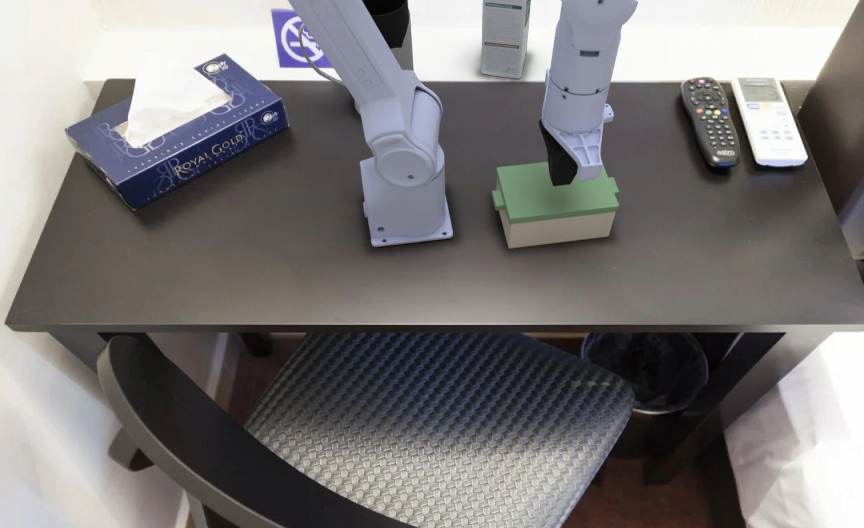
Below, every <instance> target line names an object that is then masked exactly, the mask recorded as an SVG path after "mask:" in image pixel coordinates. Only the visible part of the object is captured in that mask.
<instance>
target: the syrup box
mask: <svg viewBox="0 0 864 528" xmlns="http://www.w3.org/2000/svg"><path fill="white" fill-rule="evenodd" d="M531 4H532V0H482V14H481V15H482V16H481V17H482V18H481V65H480V66H481V67H480V68H481V74H483V75H489V76H494V77H501V78H509V79H518V80H520V78H521V76H522V73H523V69H524V66H525V63H526V58H527V56H528V55H527V53H528V40H529V29H530V15H531Z"/></svg>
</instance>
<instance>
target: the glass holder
mask: <svg viewBox="0 0 864 528" xmlns="http://www.w3.org/2000/svg"><path fill="white" fill-rule="evenodd" d="M362 2H363V3H364V5H365V7H366V9H367V10H368V12H369V14H370V15H371V17H372V19H373V21H374V22H375V24H376V26H377V28H378V29H379V31H380V33H381V34H382V36H383V38H384V40H385V41H386V43H387V45H388V47H389V48H390V50H391V52H392V53H393V55H394V57H395V59H396V60H397V62H398V64H399V65H400V67H401V69H402V70H411V71H414V72H415V70H414V69H415V68H414V53H413V38H412V37H413V36H412V21H411V19H412V18H411V11H410V9H409V0H362ZM304 29H306V27H305V25H304V24H303V22H302V23H300V26H299V28H298V31H297V33H298V35H297V36H298V42H299V46H300V50H301V52H302V55H303V57H304V58H305V60H306V61H307V64H309V66H310V67H311V68H312V69H313V70H314V71H315V72H316V73H317V74H318V75H319V76H322V78H324V79H326V80H328V81H330V82H332V83H334V84H335V85H338V86H341V87H343V88H345V89H347V87H346V86H345V84H344V83H343V81H342V80H341V79H338V78H335V77H333V76H332V75H330V74H328V73H326V72H324V71H323V70H321V69H320V68H319V67H318V66H317V65H316V64H315V63H314V62H313V60H311V58H310V57H309V55H308V53H307V51H306V49H305V46H304V43H303V35H302V34H303V31H304ZM354 107H355V111H356V112H357V113H358V115H359V116H361V112H360V108H359V105H358V104H357V102H356V101H355V100H354Z"/></svg>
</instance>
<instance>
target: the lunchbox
mask: <svg viewBox="0 0 864 528" xmlns="http://www.w3.org/2000/svg"><path fill="white" fill-rule="evenodd" d="M495 170H496V171H495V175H496V190H492V191H491V198H492V202H493V205H494V206H493V207H494V210H495V211H498V213H499V217H500V220H501V224H502V227H503V232H504V236H505V241H506V244H507V247H508V249H515V248H525V247H533V246H541V245H549V244H550V245H551V244H557V243H566V242H574V241H581V240H582V241H583V240H590V239H598V238H599V239H600V238H607V237H609V236H610V233H611V229H612V226H613V223H614V220H615V216H616V213H618V212H619V208H620V204H619V201H618V199H617V198H618V197H619V195H620V190H619V188H618V186H617V183H616V179H615V178H614V176H613V177H612V176H611V177H609V176H608V174H607V171H606V168H605V166H604V164H603V165H602V169H601V173H600V177H599V179H593V180H584V181H579V180H578V177H577V174H576V176H575V178H574V179H573V181H572V183H571V184H570V185H562V186H553V184H552V181H551V178H550V175H549V167H548V161H543V162H542V161H541V162H534V163H525V164H516V165H515V164H513V165H506V166H497V167H496V168H495Z"/></svg>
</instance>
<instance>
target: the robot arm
mask: <svg viewBox="0 0 864 528" xmlns="http://www.w3.org/2000/svg"><path fill="white" fill-rule="evenodd" d="M560 1H561V6H560V14H559V19H558V21H557V24H556V27H555V31H554V37H553V38H554V39H553V47H552V52H551V60H550V67H549V68H546V71H545V78H544V87H545V94H544V98H543V103H542V109H541V117H540V119H539V121H538V127H539V130H540V133H541V135H542V140H543V142H544V145H545V148H546V154H547V162H548V167H549V175H550V178H551V181H552V184H553V186H562V185H570V184H571V183H572V181H573V179H574V178H575V176H576V174H577V177H578V180H579V181H584V180H593V179H599V177H600V173H601V169H602V165H603V166H604V162H603V160H602V157H601V156H602V155H601V149H602V142H603V141H602V140H603V132H604V124H607V123H611V122H612V121H613V120H614V116H615V113H614V110H613V109H612V106H611V105H610V104H608V103H607V99H608V95H609V91H610V86H611V81H612V78H613V73H614V71H615V70H614V69H615V66H616V65H615V64H616V60H617V57H618V52H619V48H620V44H621V39H622V28H623V26H624V25H625V24H627V22H628V21H629V20H630V19H631V18H632V16H633V15H634V13H635V12H636V10H637V7H638V4H639V1H638V0H560ZM287 2H288V3H289V4H290V6H291V8H292V9H293V11H294V12H295V13H296V15H297V17H298V18H299V20H300V21H301V22H302V23H303V24H304V25H305V29H307V31H308V32H309V34H310V35H311V37H312V39H313V40H314V42H315V43H316V44H317V46H318V47H319V49H320V50H321V52H322V53H323V55H324V56H325V58H326V59H327V61H328V62H329V64H330V65H331V66H332V68H333V70H334V71H335V72H336V74H337V76H338V77H339V78H340V81H342V82H343V83H344V84H345V86H346V87H347V88H346V89H347V90H348V92H349V93H350V95H351V96H352V98H353V100H354V102H355V101H356V102H357V104H358V105H359V108H360V112H361V115H360V118H361V124H362V129H363V135H364V140H365V143H366V145H367V146H368V147H369V149H370V150H371V153H372V155H373V156H372V157H369V158H366V159H363V160H360V161H359V168H360V175H361V184H362V190H363V191H362V192H363V197H364V199H363V200H364V201H363V202H362V205H363V214H364V218H367V223H368V229H369V235H370V242H371V246H372V247H374V248H379V247H388V246H394V245H395V246H396V245H404V244H412V243H421V242H429V241H430V242H431V241H438V240H447V239H451V238H453V237H454V232H453V227H452V221H451V220H452V219H451V215H450V211H449V206H448V201H447V196H446V195H447V194H446V169H445V168H446V166H445V165H446V164H445V162H446V161H445V152H444V150H443V149H442V147H441V144H440V143H439V135H440V126H441V122H442V118H443V113H444V109H443V104H442V100H441V99H440V98H439V96H438V95H437V93H435V92H434V91H433V90H432V89H430V88H429V87H427V86H425V85H424V84H423V83H422V82H421V81H420V79H419V77H418V76H417V74H416V72H415V70H414V71H411V70H402V69H401V67H400V65H399V64H398V62H397V60H396V59H395V57H394V55H393V53H392V52H391V50H390V48H389V47H388V45H387V43H386V41H385V40H384V38H383V36H382V34H381V33H380V31H379V29H378V28H377V26H376V24H375V22H374V21H373V19H372V17H371V15H370V14H369V12H368V10H367V9H366V7H365V5H364V3H363V2H362V0H287Z"/></svg>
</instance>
